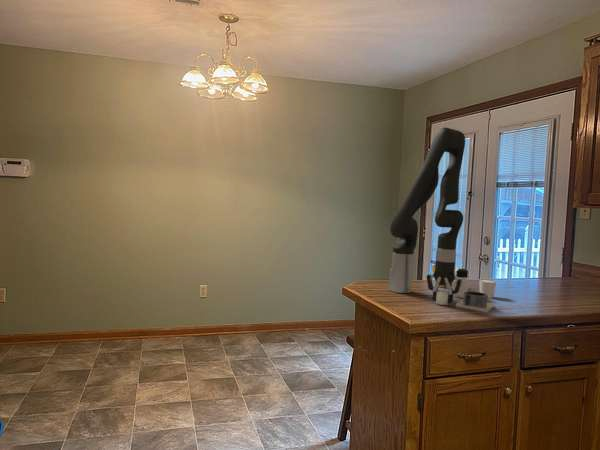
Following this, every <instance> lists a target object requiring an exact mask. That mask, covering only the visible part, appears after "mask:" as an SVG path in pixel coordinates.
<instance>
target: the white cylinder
mask: <svg viewBox="0 0 600 450" xmlns="http://www.w3.org/2000/svg"><path fill="white" fill-rule="evenodd" d="M478 283H479V285H478V286H479V292H481V293H485V294H487V295H488V299H493V298H494V296H495V295H494V294H495V289H496V284H497V282H496V281H493V280H489V279H479V282H478Z"/></svg>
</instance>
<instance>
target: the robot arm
mask: <svg viewBox="0 0 600 450" xmlns="http://www.w3.org/2000/svg"><path fill="white" fill-rule="evenodd" d="M465 147H466V136H465V134H464V133H463V132H462V131H460V130H457V129H453V128H451V127H450V128H449V127H446V126H445V127H444V126H443V127H442V128H440V129H439V130H437V132H436V133H435V135H434V137H433V139H432V142H431V143H430V147H429V149H428V153H427V155H426V157H425V160H424V162H423V164H422V166H421V168H420V170H419V172H418V174H417V175H416V177H415V179H414V181H413V184H412V186H411V187H410V189H409V192H408V194H407V195H406V197H405V199H404V201H403V202H402V205H401V207H400V208H399V209H398V211H397V213H396V214H395V216H394V217H393V218H392V221H391V223H390V228H389V231H390V234H391V236H393V237H394V238H398V239H399V240H398V242H397V243H396V244H395V245H393V246H392V258H391V268H390V269H389V274H388V275H389V276H388V291H390V292H393V293H399V294H410V293H411V292H412V285H413V270H414V253H415V249H416V247H417V242H418V241H417V240H418V233H419V227H418V226H419V225H418V222H417V220H416V219H415V218H413V217H414V215H415V214H416V213H417V212H418V211H419V210H420V208H422V207H423V206H424V205H425V204H427V202H428V201H429V200H430V199H431V198H432V196H433V194H434V193H435V190H436V189H437V187H438V185H439V180H440V179H439V174H440V173H439V165H440V162H441V159H442V158H443V156H444V154H445V153H448V157H449V162H448V166H447V168H446V170H445V172H444V173H443V175H442V178H441V180H440V189H439V190H440V191H439V202H438V206H437V209H436V212H435V215H434V216H435V217H434V222H435V225H436V226H437V227H439V228H450V230H449V231H448V232H441V233H440V234H438V237H437V249H436V253H435V264H434V265H435V273H434V274H433V273H432V274H431V273H429V274H427V275H426V282H427V288H428V290H430V291H431V292H432V300H433V302H436V293H437V290H439V288H440V287H439V286H440V285H444V286H447V287H446V289H447V291H449V295H448V304H449V305H450V304H451V303H453V301H454V297H453V294H456V293H458V292H459V289H460V286H461V283H462V279H458V278H456V277H455V269H456V259H457V242H458V241H457V239H458V236H459V232H460V230H461V227H462V225H463V222H464V215H463V213H462V211H460V210H458V209H457V210H456V209H446V208H447V206H449V205H454V204H455V205H456V204H458V203H459V198H460V196H459V195H460V190H459V189H460V176H461V175H460V174H461V169H462V164H463V159H464V155H465V154H464V152H465ZM434 278H435V280H436V283H435V282H434V284H433V280H434ZM454 280H455V283H456V287H455V290H453V286H452V282H453V281H454Z"/></svg>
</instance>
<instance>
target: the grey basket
mask: <svg viewBox="0 0 600 450" xmlns="http://www.w3.org/2000/svg"><path fill="white" fill-rule="evenodd" d="M488 299H489V298H488V295H487V294H485V293H481V292H480V291H474V290H473V291H472V290H468V291H467V292H464V298H462V299H461V300H459V301H457V302H456V303H455V307H456V308H461V309H465V310H472V311H477V312H482V313H484V312H485V313H489V312H490V311H491V310H492V309H493V308H494V307H495V303H492V302H488Z"/></svg>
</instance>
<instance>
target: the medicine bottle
mask: <svg viewBox="0 0 600 450" xmlns="http://www.w3.org/2000/svg"><path fill="white" fill-rule="evenodd" d="M468 274H469V271H468V270H467V269H466V268H456V267H455V277H456V278H458V279H462V283H461V286H460V289H459V292H458V293H456V294H453V298H459V299H461V298H462V299H464V292H467V291H469V286H470V285H469V283H470V282H469V279H468V276H469V275H468ZM452 286H453V290H455V287H456V283H455V280H454V281H453V282H452Z"/></svg>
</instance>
